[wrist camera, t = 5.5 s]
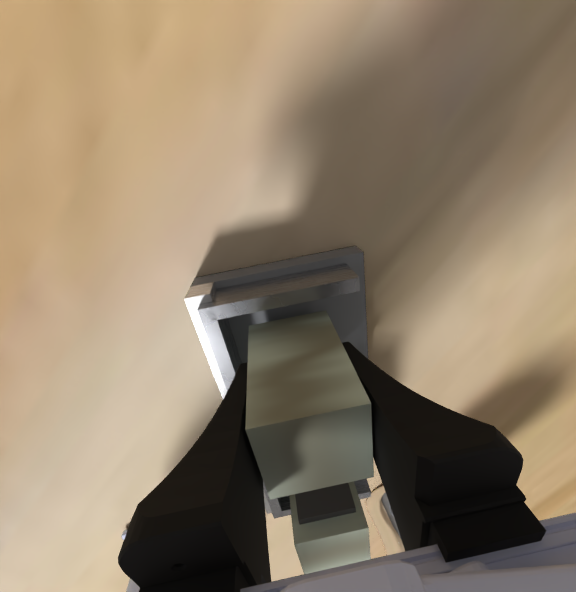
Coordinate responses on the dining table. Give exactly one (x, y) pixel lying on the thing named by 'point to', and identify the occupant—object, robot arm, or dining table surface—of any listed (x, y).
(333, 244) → the dining table surface
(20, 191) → the dining table surface
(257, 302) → the grey slotted rack
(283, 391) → the sage green rectangular prism
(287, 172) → the dining table surface
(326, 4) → the dining table surface
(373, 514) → the beer glass
